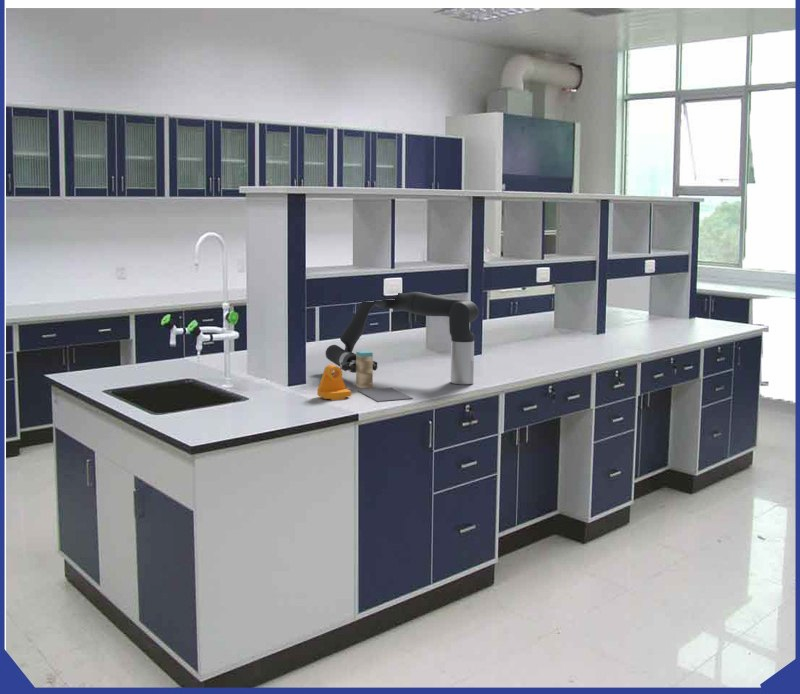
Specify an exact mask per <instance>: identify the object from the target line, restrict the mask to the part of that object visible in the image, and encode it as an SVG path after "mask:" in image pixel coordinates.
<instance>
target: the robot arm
mask: <svg viewBox="0 0 800 694" xmlns="http://www.w3.org/2000/svg"><path fill="white" fill-rule="evenodd" d="M396 297H397V298H393V299H395V300H382V301H374V302H362V303H359V304H358V307H357V309H356V311H355V314H354V315H353V316H352V318H351V320H350V322H349V323H348V324H347V326H346V328H345V329H344V331H343V333H341V336H340V338H339V339H340V341H341V343H343V345H344V347H345V348H344V349H343V348H342V347H340V346H339V345H337V344H332V345H329V346H328V347H327V348H326V349H325V357H326V359H327V360H328V361H330V362H331V363H333V364H334V365H335V366H337V367H339V368H340V369H341V370H342V371H344V372H347V371H348V372H349V373H355V374H356V352H355V353H354V352H353V351H354V348H355V346H356V344H357V343H358V341H359V339H360V338H361V336H362V335H363V333H364V332H365V331H364V330H365V328H366V324H367V320H368V316H369V315H370V311H371V310H372V309H373V307H374V306H375V307H377V308H379V309H380V308H381V309H388V310H389V309H392V310H399V311H404V312H406V313H409V314H410V313H411V314H415V315H420V316H425V317H447V318H448V324H449V326H448V327H449V335H450V337H451V338H450V339H451V341H450V342H451V346H450V383H452V384H454V385H455V384H456V385H470V384H471V385H474V381H475V379H474V378H475V377H474V375H475V374H474V373H475V334H474V333H473V332H472V331H471V328H470V327H471V326H470V324H471V323H473V322H475V321H476V319H477V318H478V317H479V314H480V310H479V308H478V306H477V304H475V303H474V302H473V301H471V300H463V299H451V298H446V297H442V296H439V295H435V294H430V293H425V292H421V291H411V292H406V293H403V292H399V293H398V295H397V296H396ZM379 300H381V299H379ZM377 369H378V361H375V360H373V371H377Z"/></svg>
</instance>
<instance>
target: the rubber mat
mask: <svg viewBox="0 0 800 694" xmlns="http://www.w3.org/2000/svg"><path fill="white" fill-rule="evenodd" d="M357 392H358V393H360V394H362V395H363V396H366V397H367V398H369V399H372V400H373V401H375V402H376V403H381V402H393V401H394V402H395V401H404V400H413V397H412V396H409V395H408V394H406V393H403V392H401V391H399V390H397V389H395V388H393V387H383V388H367V389H360V390H359V389H358V390H357Z"/></svg>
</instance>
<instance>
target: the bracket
mask: <svg viewBox="0 0 800 694" xmlns="http://www.w3.org/2000/svg"><path fill="white" fill-rule="evenodd" d="M316 391H317V396H318V397H321V398H322V399H325V400H327V399H328V400H330V401H338V400H339V401H340V400H346V398H347V397H352V390H350V389H347V387H346V384H345V382H344V380H343V370H342V369H340V366H338V365H335V364H327V366H325V368H324V370H323V373H322V376H321V378H320V381H319V384H318V387H317V390H316Z"/></svg>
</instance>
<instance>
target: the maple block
mask: <svg viewBox="0 0 800 694" xmlns="http://www.w3.org/2000/svg"><path fill="white" fill-rule="evenodd" d="M355 354H356V373H355V375H356V376H355V379H356V380H355V386H356V387H357V388H359V389H374V388H373V386H374V385H373V384H374V383H373V382H374V380H373V374H374V373H373V371H374V370H373V361H374V360H373V357H374V355H373V354H374V353H373V351H370V350H358V351H356V352H355Z"/></svg>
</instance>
